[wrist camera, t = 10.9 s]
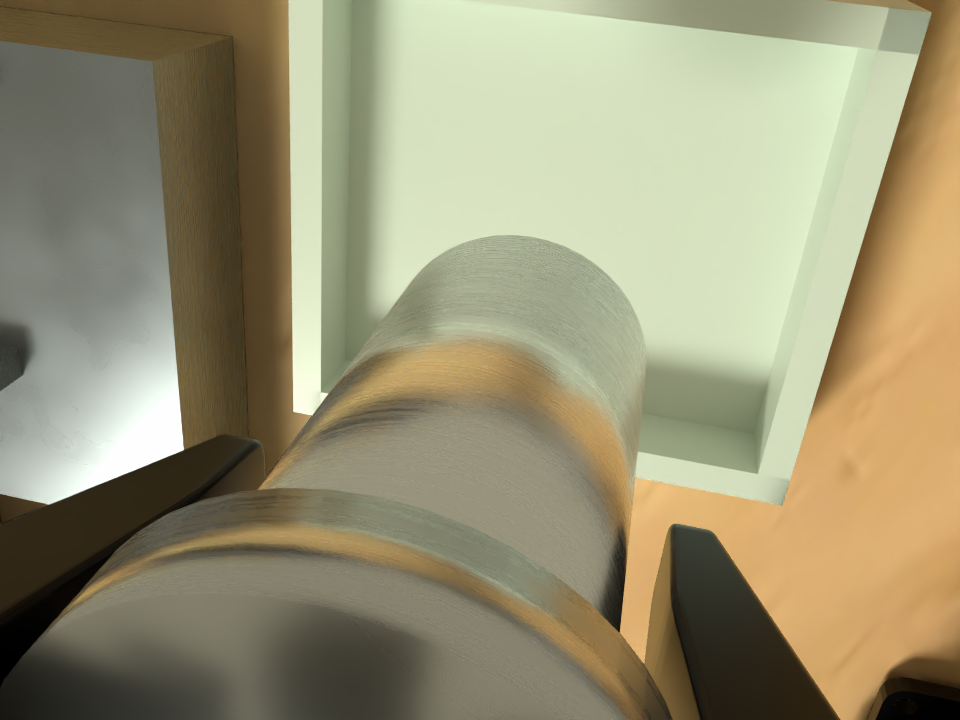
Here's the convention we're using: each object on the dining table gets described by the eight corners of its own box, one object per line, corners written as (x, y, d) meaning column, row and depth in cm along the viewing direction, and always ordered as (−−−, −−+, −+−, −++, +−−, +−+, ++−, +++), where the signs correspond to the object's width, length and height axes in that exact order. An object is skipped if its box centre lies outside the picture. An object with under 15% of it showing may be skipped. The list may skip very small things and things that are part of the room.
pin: (723, 222, 11) (768, 708, 4) (655, 526, 13) (616, 1154, 7) (357, 167, 12) (-78, 518, 5) (350, 465, 14) (37, 983, 7)
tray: (904, -1, 15) (932, 12, 13) (774, 450, 19) (782, 505, 18) (331, -65, 16) (287, -61, 15) (327, 368, 21) (293, 412, 19)
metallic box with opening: (232, 37, 18) (129, 68, 14) (257, 677, 26) (195, 787, 23) (-212, -21, 19) (-396, -5, 16) (-54, 603, 27) (-154, 697, 24)
